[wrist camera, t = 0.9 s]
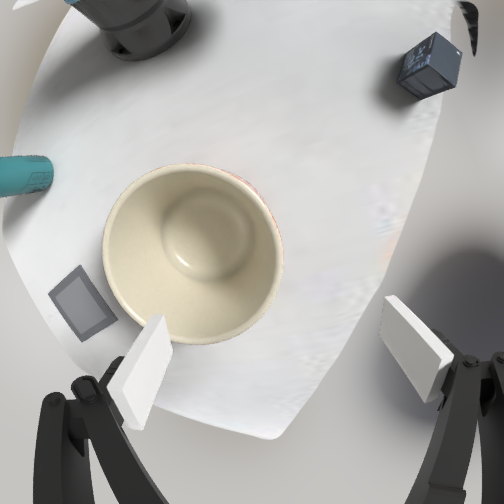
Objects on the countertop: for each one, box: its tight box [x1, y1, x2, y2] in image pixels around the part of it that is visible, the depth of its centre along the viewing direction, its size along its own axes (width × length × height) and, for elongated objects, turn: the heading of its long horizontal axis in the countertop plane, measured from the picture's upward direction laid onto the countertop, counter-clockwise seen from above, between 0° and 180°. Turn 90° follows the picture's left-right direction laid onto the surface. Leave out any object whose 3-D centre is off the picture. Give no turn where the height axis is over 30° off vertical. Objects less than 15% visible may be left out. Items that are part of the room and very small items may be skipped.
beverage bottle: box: [0, 155, 53, 198], centre depth 29 cm, size 6×7×20 cm
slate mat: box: [48, 265, 118, 342], centre depth 44 cm, size 12×12×1 cm
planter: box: [102, 163, 283, 345], centre depth 34 cm, size 19×19×15 cm
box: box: [397, 32, 462, 100], centre depth 29 cm, size 8×6×11 cm
